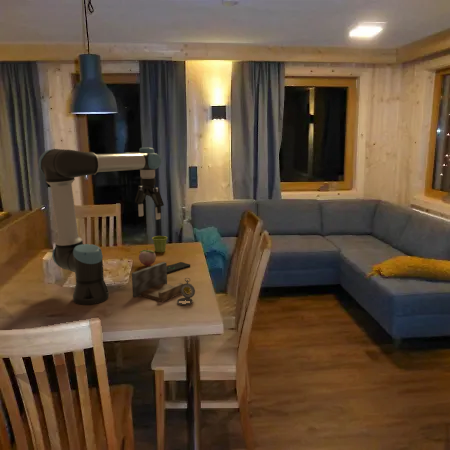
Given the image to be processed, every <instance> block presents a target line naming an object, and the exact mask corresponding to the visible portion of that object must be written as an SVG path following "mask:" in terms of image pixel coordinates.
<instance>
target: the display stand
mask: <svg viewBox="0 0 450 450" xmlns="http://www.w3.org/2000/svg"><path fill="white" fill-rule="evenodd" d="M167 266H168V265H167V262H166V261H161V262H159V263H156V264H152V265H150V266H146V267H145V268H141V269H139V270H136V271H134V272H131V284H132V285H131V286H132V297H133V298H138V297H141V296H142V297H145V298H147V299H152V300H154V301H159V302H161V303H162V301H163V302H165V301H167V300H169V299H171V297H172V298H173V296H174V297H176V296H178V295H180V294H181V291H180V289H181V286H182V285H183V284H184V283H183V282H179V283H177V284H174V285H170V284H168V274H167Z"/></svg>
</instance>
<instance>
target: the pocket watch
mask: <svg viewBox="0 0 450 450" xmlns="http://www.w3.org/2000/svg"><path fill="white" fill-rule="evenodd" d="M188 279H189V280H188ZM184 281H185V283H182V284H183V285H182V286H181V289H180V291H181V293H180V294H181V296H182V297H180V298H178V299H177V300H176V303H177V304H178V305H180V306H187V305H190V304H192V303H193V299H192V298H193V297H194V296H195V293H196V290H195V287H194V285H192V284H191V283H189V282H190V278H189V277H186V278H184ZM185 300H186V301H190V303H186V304H182V303H179V301H185Z"/></svg>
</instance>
